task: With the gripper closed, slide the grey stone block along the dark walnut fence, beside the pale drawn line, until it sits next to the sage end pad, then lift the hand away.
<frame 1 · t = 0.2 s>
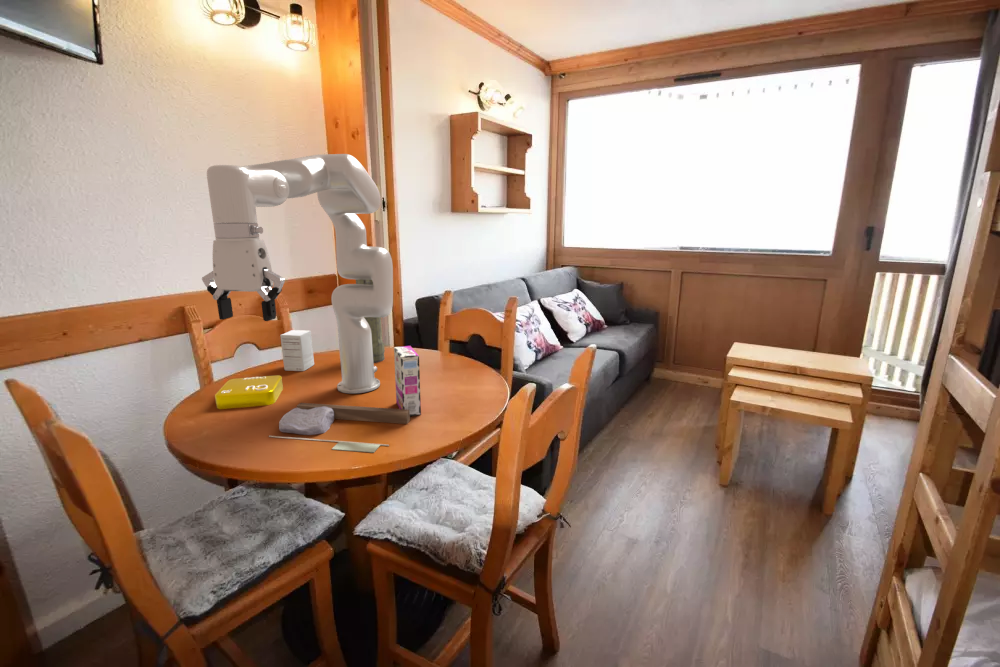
hand: (248, 319, 97), 31 cm above the table, tool pointing down, fingers open, 9 cm apart
candy bar box: (408, 409, 130), on the table
stone block: (306, 429, 119), on the table
supplement box: (299, 368, 166), on the table
element tile: (251, 399, 138), on the table
thermos: (372, 360, 175), on the table
guide rig: (340, 430, 117), on the table
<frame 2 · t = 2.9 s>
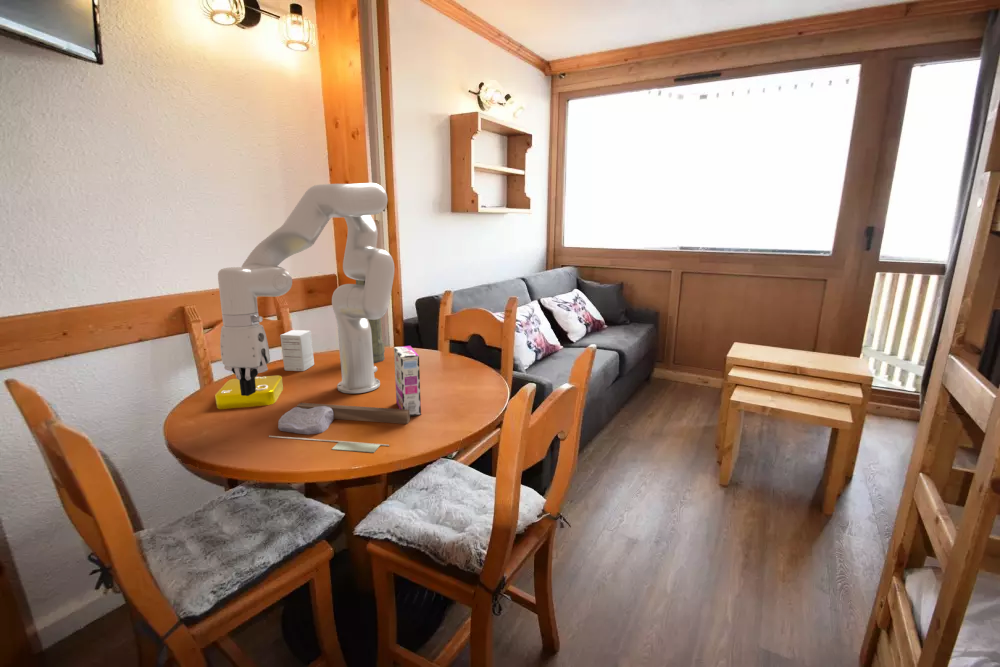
hand: (248, 393, 117), 9 cm above the table, tool pointing down, fingers closed
nothing on the table moved.
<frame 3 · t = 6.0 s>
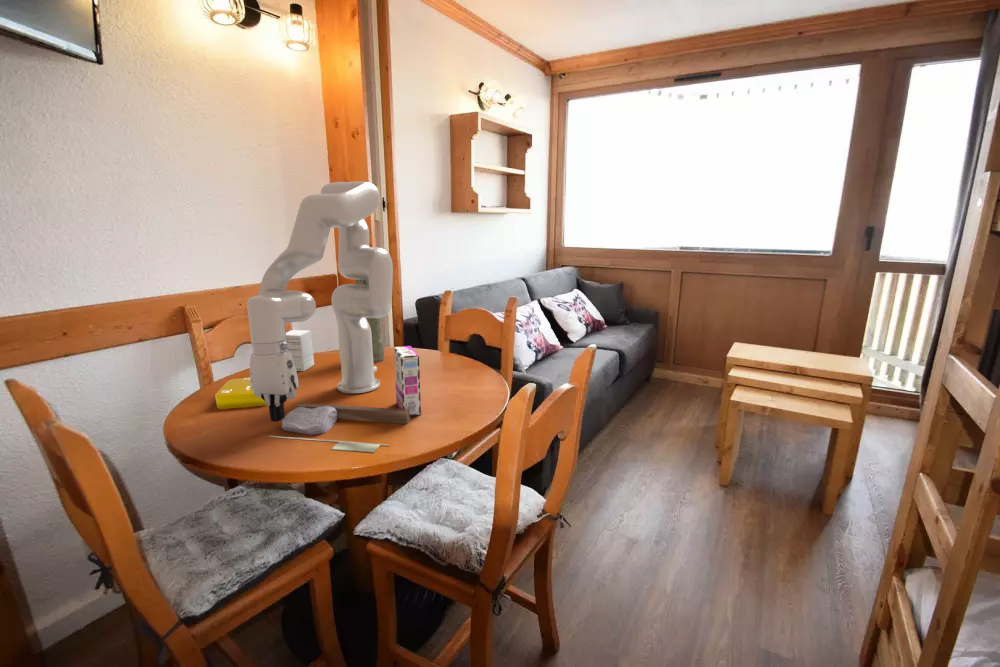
hand: (277, 419, 117), 2 cm above the table, tool pointing down, fingers closed
stone block: (309, 428, 119), on the table, touching gripper
everything else where it was.
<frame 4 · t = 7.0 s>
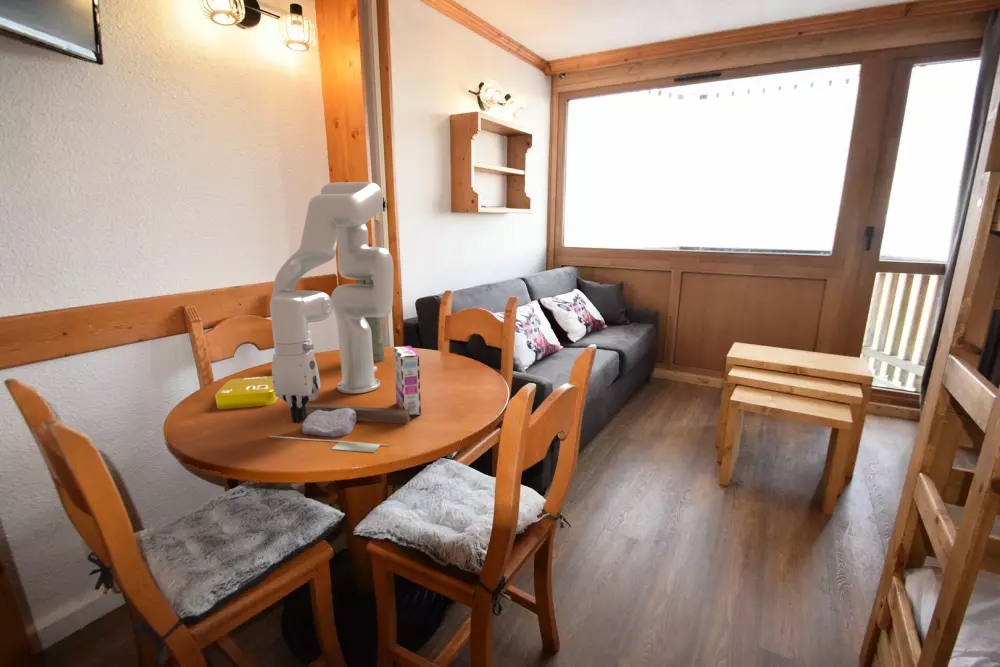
hand: (299, 420, 116), 2 cm above the table, tool pointing down, fingers closed
stone block: (329, 431, 118), on the table, touching gripper
everything else where it was.
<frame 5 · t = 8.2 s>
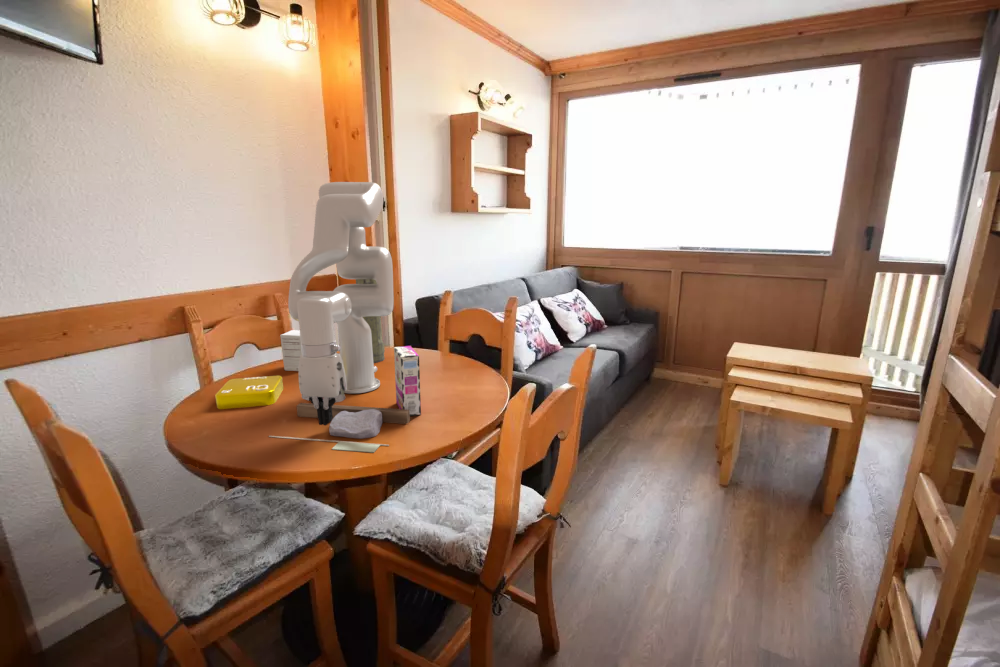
hand: (325, 422, 115), 2 cm above the table, tool pointing down, fingers closed
stone block: (356, 432, 117), on the table, touching gripper
everything else where it was.
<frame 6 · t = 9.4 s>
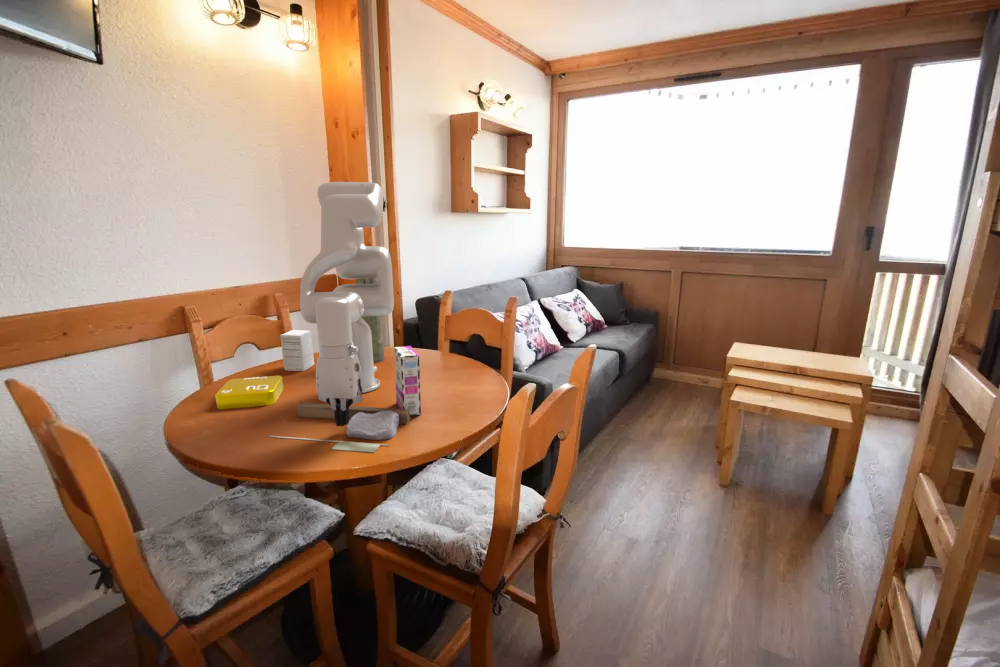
hand: (342, 423, 115), 2 cm above the table, tool pointing down, fingers closed
stone block: (373, 434, 116), on the table
everything else where it was.
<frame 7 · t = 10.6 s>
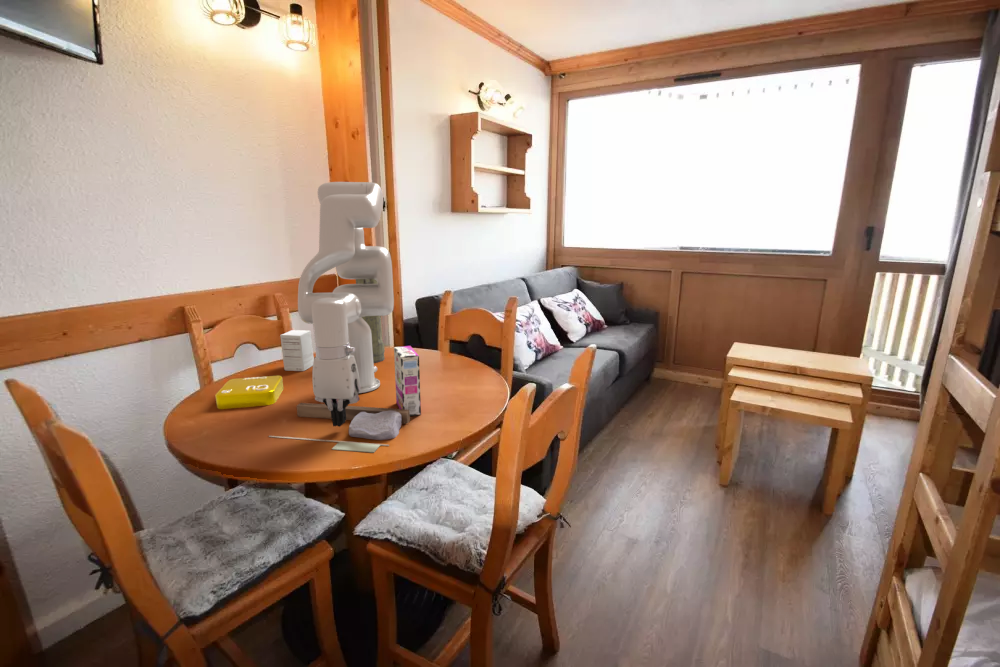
hand: (339, 424, 115), 2 cm above the table, tool pointing down, fingers closed
nothing on the table moved.
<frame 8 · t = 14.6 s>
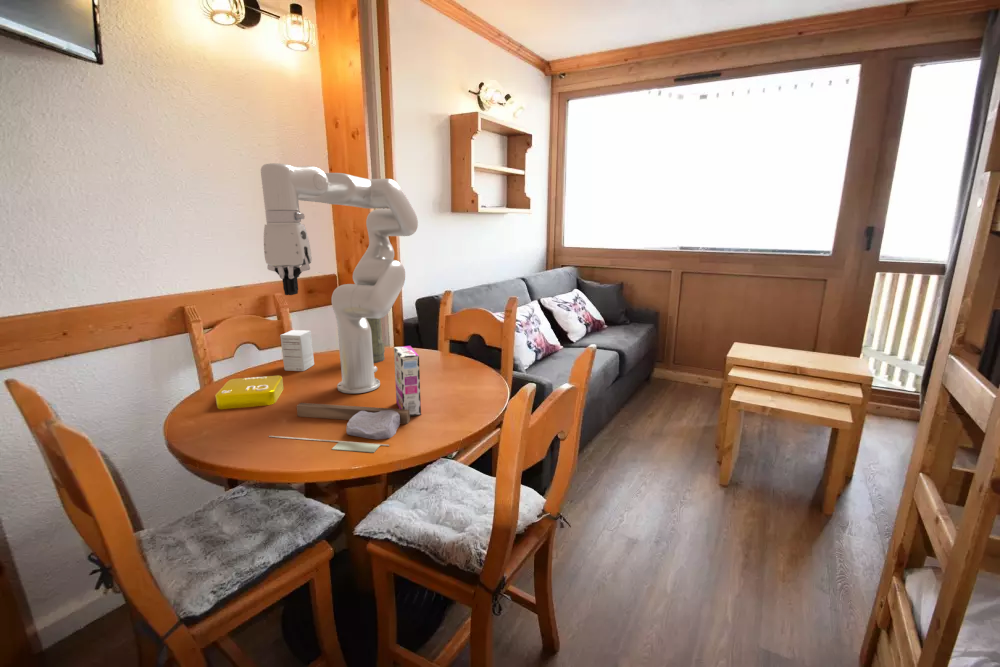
hand: (291, 294, 119), 32 cm above the table, tool pointing down, fingers closed
stone block: (373, 433, 116), on the table, touching guide rig
everything else where it was.
at the end: stone block inside the target area (1.7 cm from its centre), on the table; stone block moved 17.2 cm from its start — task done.
